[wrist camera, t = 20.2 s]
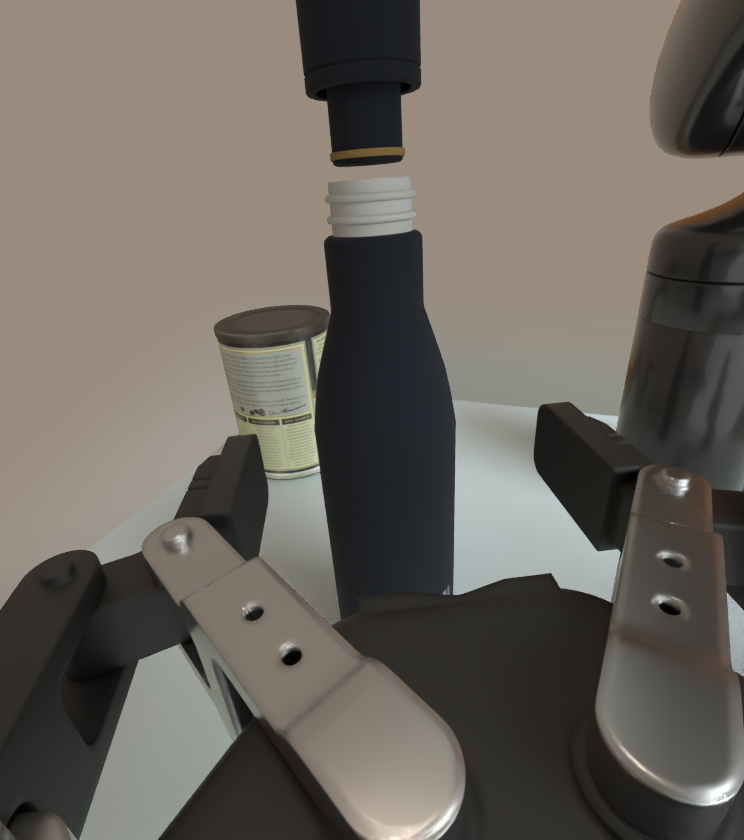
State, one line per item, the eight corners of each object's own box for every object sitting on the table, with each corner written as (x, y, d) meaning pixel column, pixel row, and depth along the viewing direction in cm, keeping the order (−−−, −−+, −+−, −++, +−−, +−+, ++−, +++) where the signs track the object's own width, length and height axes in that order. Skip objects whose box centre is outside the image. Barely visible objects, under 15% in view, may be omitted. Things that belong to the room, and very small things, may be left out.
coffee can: (244, 438, 51) (216, 312, 45) (335, 423, 53) (321, 300, 47) (243, 489, 42) (208, 341, 36) (353, 469, 44) (338, 324, 38)
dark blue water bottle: (355, 588, 31) (288, 12, 17) (452, 596, 30) (461, -14, 16) (333, 679, 25) (209, -68, 12) (451, 692, 24) (464, -115, 11)
